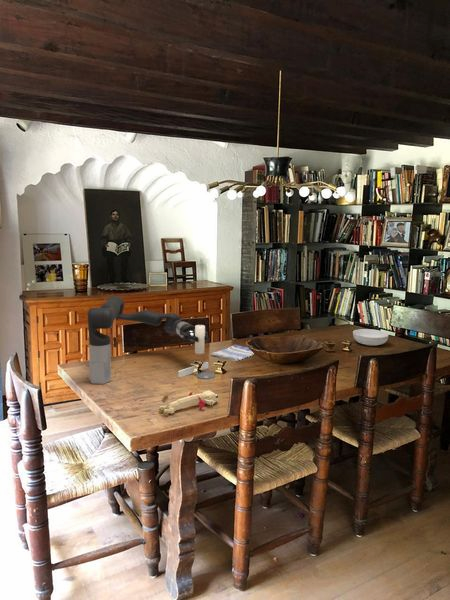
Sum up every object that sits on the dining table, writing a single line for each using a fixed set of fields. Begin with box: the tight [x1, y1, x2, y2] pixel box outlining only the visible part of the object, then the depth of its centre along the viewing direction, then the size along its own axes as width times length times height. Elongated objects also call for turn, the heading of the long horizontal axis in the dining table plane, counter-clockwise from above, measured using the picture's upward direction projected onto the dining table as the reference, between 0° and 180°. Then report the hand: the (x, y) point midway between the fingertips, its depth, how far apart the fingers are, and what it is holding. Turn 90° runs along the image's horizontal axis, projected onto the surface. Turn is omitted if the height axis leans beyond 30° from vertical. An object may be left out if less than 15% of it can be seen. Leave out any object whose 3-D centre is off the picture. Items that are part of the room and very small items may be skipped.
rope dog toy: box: [158, 390, 220, 417], centre depth 191 cm, size 10×9×25 cm
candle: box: [194, 324, 206, 355], centre depth 231 cm, size 5×5×14 cm
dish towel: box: [210, 344, 255, 362], centre depth 267 cm, size 17×24×3 cm
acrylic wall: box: [177, 361, 209, 378], centre depth 234 cm, size 1×20×3 cm, turn 140°
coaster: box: [195, 371, 216, 380], centre depth 230 cm, size 9×9×1 cm
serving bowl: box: [352, 328, 390, 347], centre depth 296 cm, size 21×21×7 cm
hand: (202, 339), depth 228 cm, fingers closed on candle, 4 cm apart
